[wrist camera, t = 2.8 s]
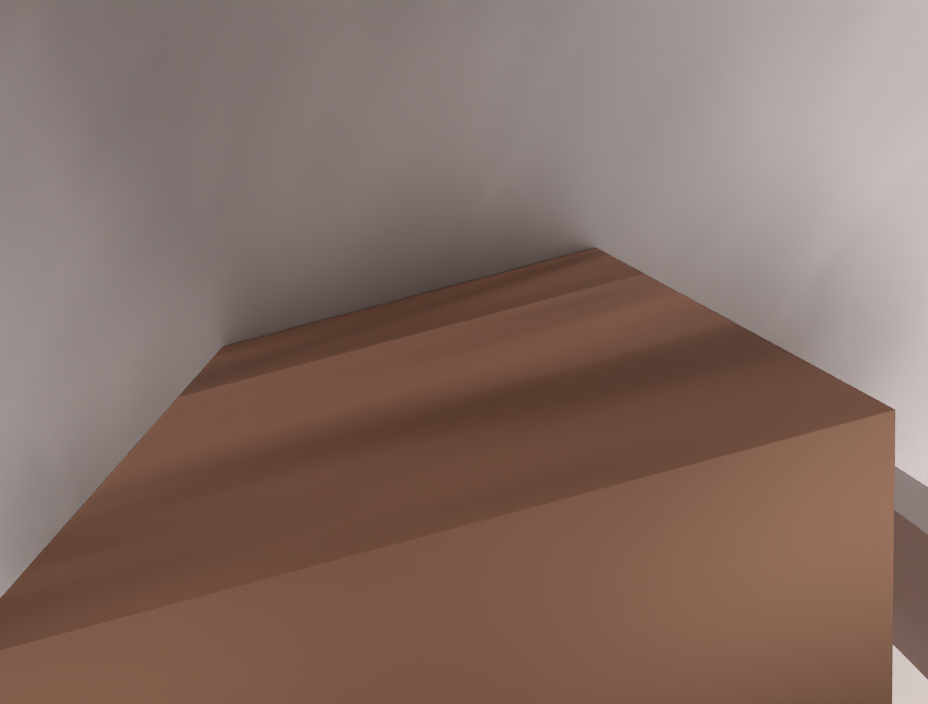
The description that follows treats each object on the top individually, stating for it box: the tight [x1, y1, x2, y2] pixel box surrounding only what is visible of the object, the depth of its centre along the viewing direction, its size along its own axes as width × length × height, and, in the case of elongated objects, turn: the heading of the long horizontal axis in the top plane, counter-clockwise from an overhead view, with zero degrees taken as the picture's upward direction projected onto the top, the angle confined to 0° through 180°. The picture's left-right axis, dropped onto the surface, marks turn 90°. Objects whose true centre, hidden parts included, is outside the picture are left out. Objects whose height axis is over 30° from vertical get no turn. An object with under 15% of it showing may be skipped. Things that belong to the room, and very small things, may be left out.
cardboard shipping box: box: [0, 248, 895, 704], centre depth 10 cm, size 10×8×8 cm
